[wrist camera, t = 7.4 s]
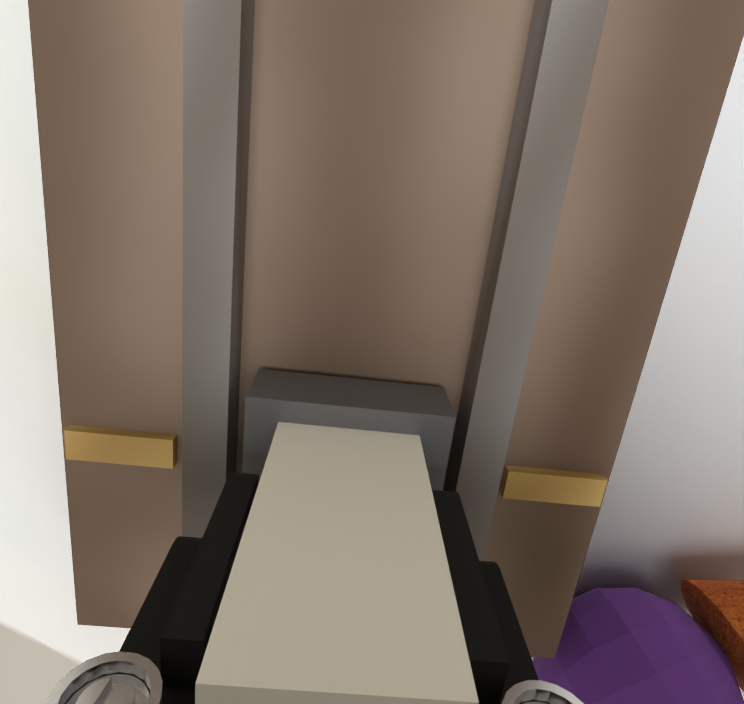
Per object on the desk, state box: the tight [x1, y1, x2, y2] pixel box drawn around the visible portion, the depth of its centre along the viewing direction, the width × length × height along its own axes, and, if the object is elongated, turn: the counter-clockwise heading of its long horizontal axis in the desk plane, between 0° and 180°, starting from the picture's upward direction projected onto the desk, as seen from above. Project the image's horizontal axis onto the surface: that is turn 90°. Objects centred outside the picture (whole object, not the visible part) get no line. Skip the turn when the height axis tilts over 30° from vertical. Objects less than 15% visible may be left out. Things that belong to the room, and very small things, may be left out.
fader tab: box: [195, 369, 479, 704], centre depth 10 cm, size 4×5×8 cm
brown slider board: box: [28, 0, 744, 659], centre depth 13 cm, size 14×22×4 cm, turn 173°
